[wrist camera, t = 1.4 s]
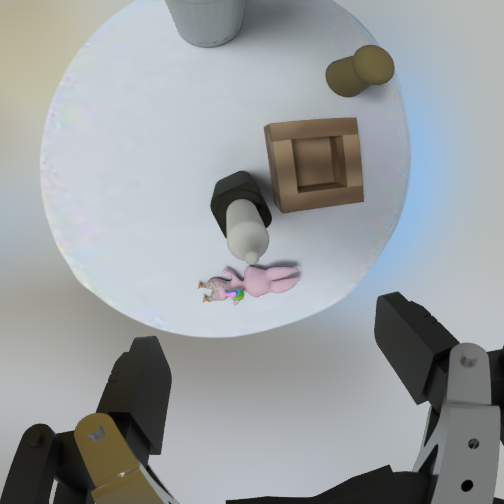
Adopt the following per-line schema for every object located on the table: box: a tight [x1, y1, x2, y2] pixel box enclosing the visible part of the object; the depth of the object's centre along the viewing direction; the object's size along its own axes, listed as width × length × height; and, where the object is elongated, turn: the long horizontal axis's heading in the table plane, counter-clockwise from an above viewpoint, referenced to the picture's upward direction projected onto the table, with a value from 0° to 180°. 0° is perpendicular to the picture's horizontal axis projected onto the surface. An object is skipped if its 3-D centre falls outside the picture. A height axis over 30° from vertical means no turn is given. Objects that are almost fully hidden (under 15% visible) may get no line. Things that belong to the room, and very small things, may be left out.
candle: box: [210, 171, 272, 265], centre depth 29 cm, size 5×5×25 cm
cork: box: [326, 45, 394, 97], centre depth 30 cm, size 6×6×11 cm
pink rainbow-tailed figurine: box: [198, 266, 300, 305], centre depth 42 cm, size 6×6×15 cm
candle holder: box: [264, 118, 364, 213], centre depth 37 cm, size 11×11×6 cm
